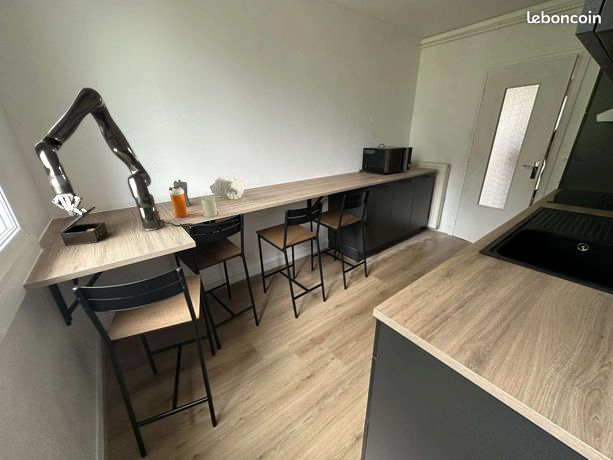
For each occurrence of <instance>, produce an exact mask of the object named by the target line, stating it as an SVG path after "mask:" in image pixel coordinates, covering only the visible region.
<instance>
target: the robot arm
mask: <svg viewBox="0 0 613 460" xmlns="http://www.w3.org/2000/svg"><path fill="white" fill-rule="evenodd" d="M90 114H91V117H93V119H94V120H95V123H96V124H97V126H98V129H99V131H100V133H101V136H102V138H103V140H104V142H105V143H106V145H107V147H108V148H109V150H110V151H111V152H112V154H113V155H114V156H115V157H117V158H118V159H119V160H120V161H121V162H122V163H123V164H124V165H125V166H126V167H127V169H128V171H129V172H130V175H129V176H128V177H127V185H128V188H129V192H130V195H131V197H132V198H133V200H134V201H135V204H136V209H137V211H138V215H139V219H140V222H141V225H142V229H143V231H146V232H151V231H155V230H160V229H161V228H162V227H164V225H170V226H171V225H172V226H174V227H183V226H184V227H185V226H195V227H215V226H221V225H225V224H230V223H235V222H239V221H240V219H233V220H229V221H223V222H219V223H211V224H200V223H194V222H193V223H192V222H191V223H190V222H188V223H181V224H175V223H173V222H169V221H165V219H161V215H160V212H159V210H158V208H157V205H156V202H155V197H154V195H153V194H152V193H150V192H149V191H150V190H149V188H148V187H149V186H151V184H152V178H151V175H150V174H149V173H148V171H147V170H146V168H145V167H144V166H143V165H142V163H141V161H140V160H139V159H138V156H137V154H136V153H135V151H134V149H133V148H132V146H131V144H130V142H129V141H128V139H127V137H126V136H125V134H124V132H123V131H122V130H121V128H120V127H119V125H118V124H117V123H116V122H115V120H114V119H113V117H112V115H111V113H110V111H109V109H108V106H107V105H106V102H105V99H104V97H103V96H102V95H101V94H100V93H99V92H98V91H97V90H96V89H94V88H92V87H83V88H81V89H79V90H78V93H77V94H76V96H75V98H74V100H73V102H71V105H70V106H69V107H68V108H67V110H66V111H65V112H64V114H62V116H60V118H59V119H58V120H56V122H55V123H54V124H53V125H52V126H51V128H50V129H48V131H47V134H46V135H45V136H44V137H42V139H41V140H39V141H38V142H37V143H35V144H34V152H35V154H36V156H37V157H38V159H39V161H40V163H41V164H42V167H43V169H44V172H45V175H46V177H47V181H48V182H49V185H50V187H51V190H52V192H53V194H54V199H52V200H51V201H50V202H51V203H53V205H55V206H57V207H59V208H60V209H62V210H66V211H67V213H68V215H69V216H70V217H76V216H77V215H78V212H75V209H76V208H78V207H80V206H81V203H82V201H83V197H82V196H81V197H79V196H77V194H76V193H75V190H74V188H73V185H72V182H71V180H70V178H69V176H68V174H67V171H66V169H65V167H64V165H63V163H62V162H61V160H60V158H59V155H58V152H59V151H60V150H61V148H62V147H63V145H65V143H67V142H68V141H69V140H70V139H71V138H72V137H73V135H74V134H75V133H76V132H77V130H78V129H79V127H80V125H81V124H82V122H83V120H84V119H85V118H86V117H87V116H88V115H90Z"/></svg>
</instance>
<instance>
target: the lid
mask: <svg viewBox="0 0 613 460" xmlns="http://www.w3.org/2000/svg"><path fill="white" fill-rule="evenodd" d="M95 209H96V207H95V206H93V207H91V208H89V209H88V210H86V209H85V208H84V206H83V205H79V207H77V208H75V212H77V214H79V216H78V217H76V218H75V219H74V220H72V221H71V222H70V223H69V224H68V225H66V226H65V227H64V228H62V229H61V230H60V231H59V232H58V233H59V235H61V233H63V232H64V231H66V230H67V229H69V228H70V227H72V226H74V225H77V224H78V223H79V222H80V221H82V220H83V219H84V218H85V217H86V216H88V215H89V214H90V213H91V212H92V211H94V210H95ZM82 211H83V212H82Z"/></svg>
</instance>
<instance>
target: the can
mask: <svg viewBox="0 0 613 460" xmlns="http://www.w3.org/2000/svg"><path fill="white" fill-rule="evenodd" d="M215 197H216V196H203V197H201V198H200V203H201V209H202V214H203V215H202V216H203V217H205V218H212V217H216V216H217V215H218V210H217V203H216V198H215Z"/></svg>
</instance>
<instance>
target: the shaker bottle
mask: <svg viewBox="0 0 613 460" xmlns="http://www.w3.org/2000/svg"><path fill="white" fill-rule="evenodd" d="M168 190H169V191H168V195H169V197H170V200H171V205H172V208H173V211H174V215H175V218H179V219H180V218H181V219H182V218H185V217H188V211H187V210H188V209H187V207H186V203H185V197H184V190H183V189H181V186H175V187H174V186H173V187H170V186H169V187H168Z"/></svg>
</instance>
